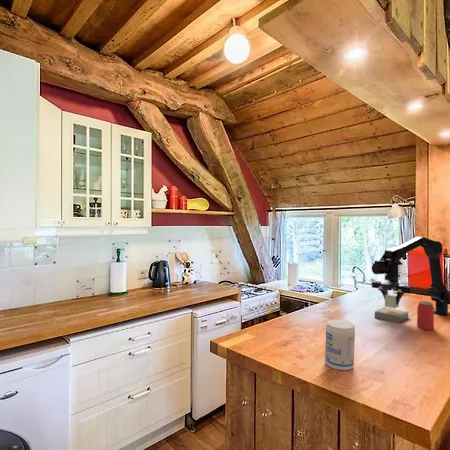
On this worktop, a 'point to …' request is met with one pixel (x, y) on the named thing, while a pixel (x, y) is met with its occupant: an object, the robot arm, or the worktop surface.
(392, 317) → the slate base
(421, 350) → the worktop surface
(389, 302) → the cream block
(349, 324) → the supplement tub
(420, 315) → the beer can
